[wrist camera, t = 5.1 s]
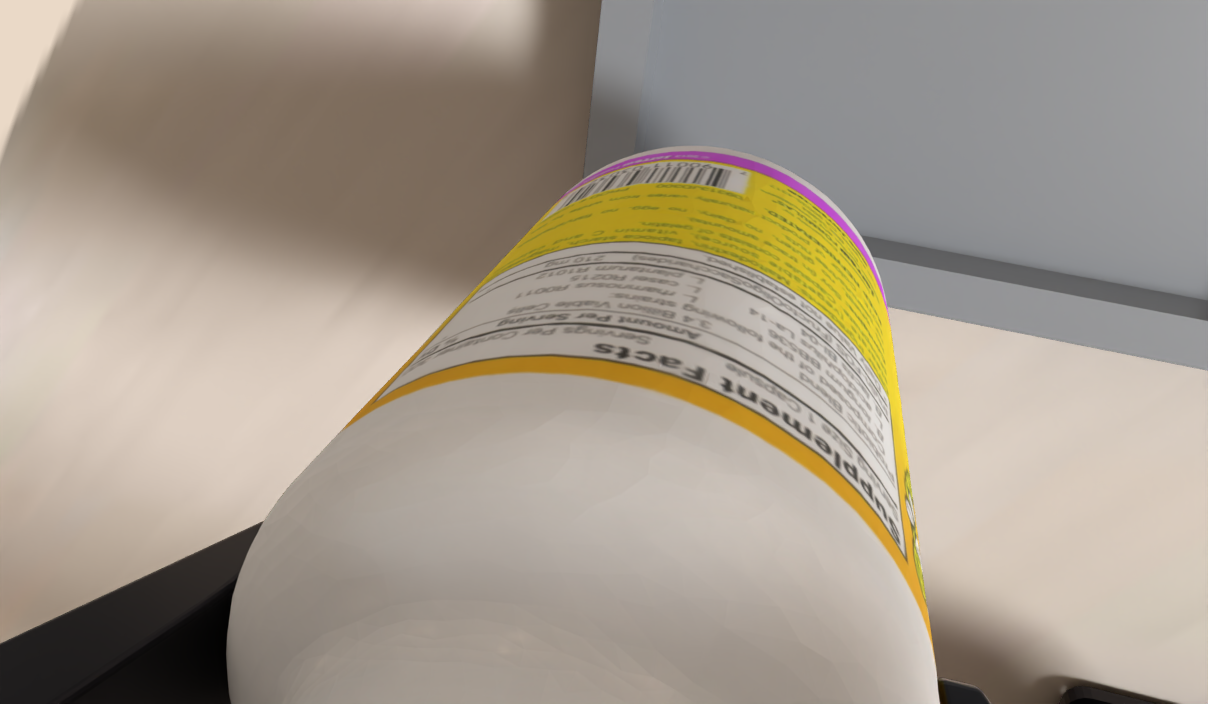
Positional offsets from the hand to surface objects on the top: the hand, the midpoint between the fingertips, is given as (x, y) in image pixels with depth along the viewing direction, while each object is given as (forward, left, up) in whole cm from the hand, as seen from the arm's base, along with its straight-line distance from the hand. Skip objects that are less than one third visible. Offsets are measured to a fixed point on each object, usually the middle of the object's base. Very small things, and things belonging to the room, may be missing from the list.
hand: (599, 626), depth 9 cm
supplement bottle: (0, 0, -8) cm, 8 cm away
